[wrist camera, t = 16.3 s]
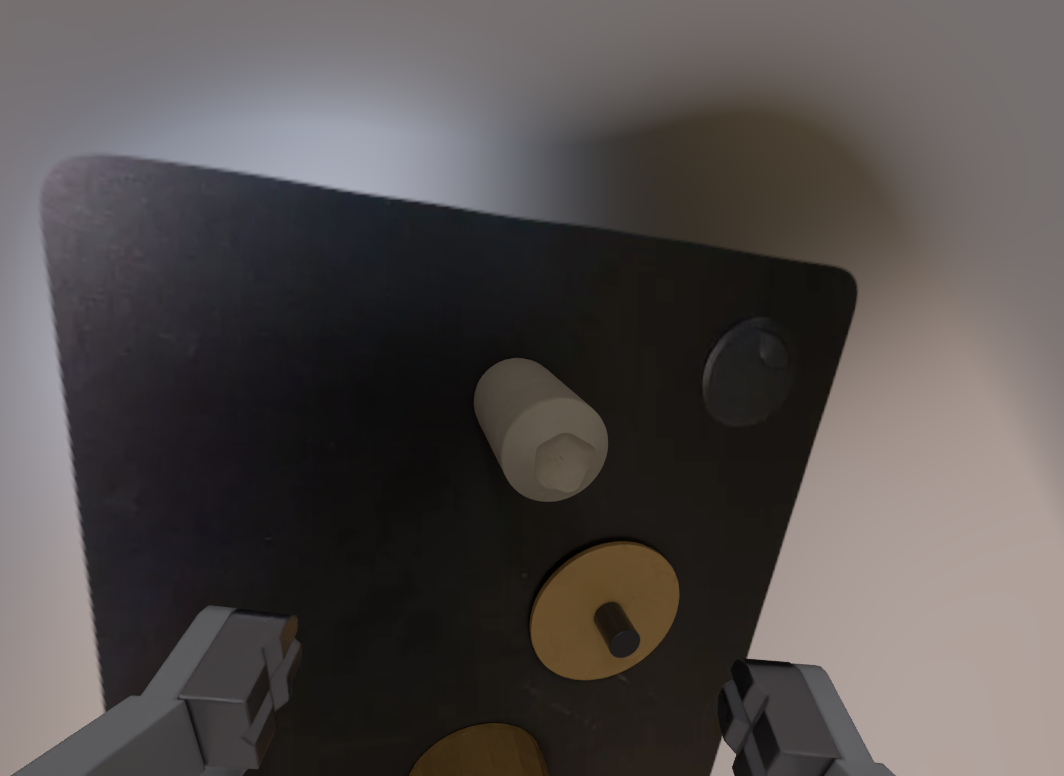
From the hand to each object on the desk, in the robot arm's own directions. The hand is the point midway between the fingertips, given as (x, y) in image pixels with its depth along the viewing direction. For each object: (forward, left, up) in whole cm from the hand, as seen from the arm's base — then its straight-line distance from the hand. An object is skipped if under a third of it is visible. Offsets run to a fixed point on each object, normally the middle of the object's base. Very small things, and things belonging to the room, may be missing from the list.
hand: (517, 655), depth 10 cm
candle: (+5, -3, -23) cm, 24 cm away
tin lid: (+12, -21, -22) cm, 33 cm away
